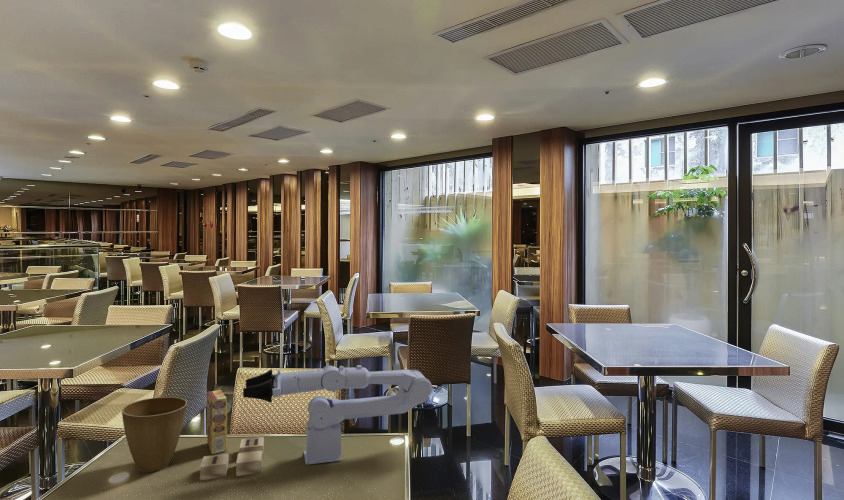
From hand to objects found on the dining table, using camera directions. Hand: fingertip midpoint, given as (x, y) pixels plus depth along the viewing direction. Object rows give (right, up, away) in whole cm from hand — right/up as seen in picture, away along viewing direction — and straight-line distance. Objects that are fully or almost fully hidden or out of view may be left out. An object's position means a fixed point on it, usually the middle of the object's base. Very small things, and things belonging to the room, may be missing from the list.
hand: (244, 388), depth 124 cm
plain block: (+2, -21, -2) cm, 21 cm away
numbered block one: (-6, -21, -4) cm, 22 cm away
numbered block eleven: (-1, -21, +7) cm, 22 cm away
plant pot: (-23, -20, -1) cm, 31 cm away
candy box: (-12, -20, +11) cm, 26 cm away
